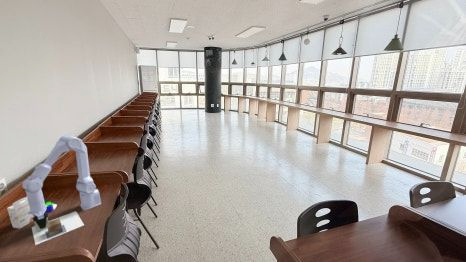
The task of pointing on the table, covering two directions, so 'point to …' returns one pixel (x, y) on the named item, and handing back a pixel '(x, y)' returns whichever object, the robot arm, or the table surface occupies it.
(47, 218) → the sage block
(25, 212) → the ink cartridge box
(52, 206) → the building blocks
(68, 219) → the blueprint board
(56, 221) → the walnut block
